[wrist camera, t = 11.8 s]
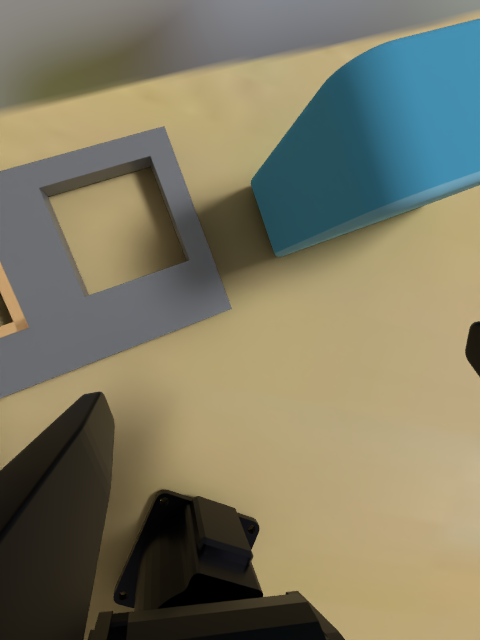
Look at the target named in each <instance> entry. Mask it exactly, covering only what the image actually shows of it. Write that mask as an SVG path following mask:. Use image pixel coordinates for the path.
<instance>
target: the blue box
mask: <svg viewBox="0 0 480 640" xmlns="http://www.w3.org/2000/svg"><path fill="white" fill-rule="evenodd" d="M478 185H480V19H476V20H472V21H468V22H464V23H460V24H456V25H452V26H448V27H444V28H440V29H436V30H432V31H428V32H424V33H420V34H416V35H412V36H408V37H404V38H400V39H396V40H393V41H389V42H386V43H383V44H381V45H379V46H376V47H374V48H372V49H370V50H368V51H366V52H364V53H362V54H360V55H359V56H357V57H355V58H354V59H352V60H351V61H349V62H348V63H346V64H345V65H344V66H342V67H341V68H340V69H338V70H337V71H336V72H335V73H334V74H333V75H331V76H330V77H329V78H328V79H327V80H326V82H325V83H324V84H323V85H322V86H321V88H320V89H319V90H318V92H317V93H316V94H315V96H314V97H313V98H312V100H311V101H310V102H309V104H308V105H307V106H306V108H305V109H304V110H303V112H302V113H301V114H300V116H299V117H298V118H297V120H296V121H295V122H294V124H293V125H292V126H291V128H290V129H289V130H288V132H287V133H286V134H285V136H284V137H283V138H282V140H281V141H280V142H279V144H278V145H277V146H276V148H275V149H274V150H273V152H272V153H271V154H270V156H269V157H268V158H267V160H266V161H265V162H264V164H263V165H262V166H261V168H260V169H259V170H258V172H257V173H256V174H255V176H254V177H253V178H252V180H251V187H252V189H253V192H254V195H255V198H256V201H257V204H258V207H259V210H260V213H261V216H262V219H263V222H264V225H265V228H266V230H267V233H268V236H269V239H270V242H271V245H272V248H273V251H274V254H275V255H276V256H277V257H282V256H285V255H288V254H290V253H293V252H296V251H299V250H302V249H304V248H307V247H310V246H313V245H315V244H318V243H321V242H324V241H327V240H329V239H332V238H335V237H338V236H341V235H343V234H346V233H349V232H352V231H354V230H357V229H360V228H363V227H366V226H368V225H371V224H374V223H377V222H380V221H382V220H385V219H388V218H391V217H394V216H396V215H399V214H402V213H405V212H407V211H410V210H413V209H416V208H419V207H421V206H424V205H427V204H430V203H432V202H435V201H438V200H441V199H443V198H446V197H449V196H451V195H454V194H457V193H459V192H462V191H465V190H467V189H470V188H473V187H476V186H478Z"/></svg>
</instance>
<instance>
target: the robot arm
mask: <svg viewBox="0 0 480 640" xmlns="http://www.w3.org/2000/svg"><path fill="white" fill-rule="evenodd" d="M465 354H466V357H467V360H468V361H469V363H470V364H471V366H472V367H473V368H474V370H475V371H476V372H477V374H478V375H479V377H480V321H478V322H474V323H473V324H472V325H471V326H470V329H469V334H468V339H467V344H466V349H465ZM114 429H115V426H114V419H113V416H112V413H111V411H110V408H109V406H108V403H107V400H106V398H105V396H104V394H103V393H102V392H94V393H89V394H84V395H83V396H81V397H80V398H79V399H78V400H77V401H76V402H75V403H74V404H73V405H71V406H70V407H69V408H68V409H67V410H66V411H65V412H64V413H63V414H62V415H61V416H59V417H58V418H57V419H56V420H55V421H54V422H53V423H52V424H51V425H50V426H49V427H47V428H46V429H45V430H44V431H43V432H42V433H41V434H40V435H39V436H38V437H37V438H35V439H34V440H33V441H32V442H31V443H30V444H29V445H28V446H27V447H26V448H25V449H24V450H22V451H21V452H20V453H19V454H18V455H17V456H16V457H15V458H14V459H13V460H12V461H10V462H9V463H8V464H7V465H6V466H5V467H4V468H3V469H2V470H1V471H0V640H83V639H84V633H85V628H86V622H87V617H88V611H89V606H90V600H91V595H92V589H93V584H94V578H95V573H96V567H97V562H98V556H99V551H100V545H101V540H102V534H103V529H104V523H105V518H106V512H107V507H108V501H109V495H110V488H111V477H112V461H113V445H114ZM164 497H166V498H168V501H167V502H165V503H162V502H161V501H160V500H161V499H162V498H164ZM251 525H252V526H254V527H253V528H252V529H251V530H247V528H248V527H249V526H251ZM258 533H259V525H258V522H257V521H256V519H254V518H252V517H249V516H246V515H243V514H240V513H237V512H236V509H235V508H233V507H230V506H227V505H224V504H221V503H218V502H215V501H212V500H209V499H206V498H203V497H200V496H197V497H194V498H191V497H188V496H185V495H182V494H179V493H176V492H173V491H169V490H161V491H160V492H158V493H157V495H156V497H155V499H154V501H153V503H152V506H151V508H150V510H149V512H148V515H147V517H146V519H145V521H144V524H143V526H142V528H141V531H140V533H139V535H138V537H137V540H136V542H135V544H134V546H133V549H132V551H131V553H130V555H129V558H128V560H127V562H126V564H125V567H124V569H123V571H122V574H121V576H120V578H119V580H118V583H117V585H116V587H115V591H114V601H115V602H116V603H117V604H119V605H123V606H127V607H131V608H134V612H126V613H117V614H113V611H108V612H100V613H99V615H98V619H97V622H96V626H95V629H94V630H91V631H90V634H89V637H88V640H345V639H344V638H343V636H342V635H341V634H340V633H339V631H338V630H337V629H336V628H335V627H334V626H333V625H332V624H331V623H330V622H329V621H328V620H327V619H326V618H325V617H324V616H323V615H322V614H321V613H320V612H318V611H317V610H316V609H315V608H314V607H313V606H312V605H311V604H310V603H309V602H308V601H307V600H306V599H305V598H304V597H303V596H302V595H301V594H300V593H299V592H298V591H292V592H286V595H279V596H270V597H263V593H262V590H261V587H260V584H259V582H258V579H257V576H256V573H255V571H254V568H253V565H252V562H251V561H252V558H253V553H252V551H251V549H252V547H253V545H254V542H255V540H256V537H257V535H258ZM122 591H125V592H127V594H125V595H121V594H120V592H122Z"/></svg>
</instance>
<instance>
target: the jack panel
mask: <svg viewBox="0 0 480 640" xmlns="http://www.w3.org/2000/svg"><path fill="white" fill-rule="evenodd" d="M148 167H151V168H152V170H153V173H154V176H155V178H156V181H157V184H158V186H159V189H160V192H161V194H162V197H163V199H164V202H165V205H166V207H167V210H168V213H169V215H170V218H171V221H172V223H173V226H174V228H175V231H176V234H177V236H178V239H179V242H180V244H181V247H182V250H183V252H184V255H185V257H186V260H187V261H186V262H183V263H180V264H177V265H174V266H172V267H169V268H166V269H163V270H160V271H157V272H155V273H152V274H149V275H146V276H143V277H140V278H137V279H135V280H132V281H129V282H126V283H123V284H120V285H118V286H115V287H112V288H109V289H106V290H103V291H100V292H98V293H95V294H92V295H89V294H88V292H87V289H86V287H85V285H84V282H83V280H82V277H81V275H80V273H79V270H78V268H77V265H76V263H75V261H74V258H73V256H72V253H71V251H70V249H69V246H68V244H67V241H66V239H65V237H64V234H63V232H62V229H61V227H60V225H59V222H58V220H57V217H56V215H55V212H54V210H53V208H52V205H51V203H50V200H49V198H48V197H49V196H52V195H56V194H59V193H62V192H66V191H69V190H73V189H76V188H79V187H83V186H86V185H90V184H93V183H96V182H100V181H103V180H107V179H110V178H113V177H117V176H120V175H124V174H127V173H131V172H134V171H137V170H141V169H144V168H148ZM0 292H1V295H2V297H3V299H4V301H5V304H6V306H7V308H8V310H9V313H10V315H11V317H12V319H13V322H12V323H9V324H6V325H3V326H0V398H2V397H5V396H7V395H10V394H12V393H15V392H18V391H20V390H23V389H25V388H28V387H31V386H33V385H36V384H38V383H41V382H44V381H46V380H49V379H51V378H54V377H56V376H59V375H62V374H64V373H67V372H69V371H72V370H75V369H77V368H80V367H82V366H85V365H88V364H90V363H93V362H95V361H98V360H100V359H103V358H106V357H108V356H111V355H113V354H116V353H119V352H121V351H124V350H126V349H129V348H132V347H134V346H137V345H139V344H142V343H144V342H147V341H150V340H152V339H155V338H157V337H160V336H163V335H165V334H168V333H170V332H173V331H176V330H178V329H181V328H183V327H186V326H188V325H191V324H194V323H196V322H199V321H201V320H204V319H207V318H209V317H212V316H214V315H217V314H220V313H222V312H225V311H227V310H230V309H232V308H231V305H230V303H229V300H228V297H227V294H226V292H225V289H224V286H223V284H222V281H221V278H220V276H219V273H218V270H217V267H216V265H215V262H214V259H213V257H212V254H211V251H210V248H209V246H208V243H207V240H206V238H205V235H204V232H203V230H202V227H201V224H200V221H199V219H198V216H197V213H196V211H195V208H194V205H193V203H192V200H191V197H190V194H189V192H188V189H187V186H186V184H185V181H184V178H183V176H182V173H181V170H180V167H179V165H178V162H177V159H176V157H175V154H174V151H173V149H172V146H171V143H170V140H169V138H168V135H167V132H166V130H165V127H164V126H163V127H160V128H156V129H152V130H149V131H145V132H141V133H138V134H134V135H130V136H127V137H123V138H120V139H116V140H112V141H109V142H105V143H101V144H98V145H94V146H90V147H87V148H83V149H79V150H76V151H72V152H69V153H65V154H61V155H58V156H54V157H50V158H47V159H43V160H39V161H36V162H32V163H28V164H25V165H21V166H17V167H14V168H10V169H7V170H3V171H0Z"/></svg>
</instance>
